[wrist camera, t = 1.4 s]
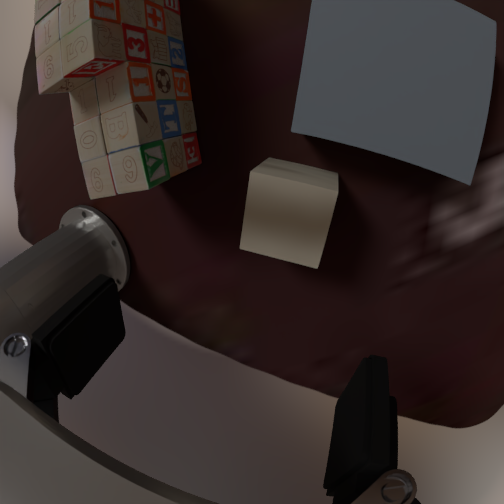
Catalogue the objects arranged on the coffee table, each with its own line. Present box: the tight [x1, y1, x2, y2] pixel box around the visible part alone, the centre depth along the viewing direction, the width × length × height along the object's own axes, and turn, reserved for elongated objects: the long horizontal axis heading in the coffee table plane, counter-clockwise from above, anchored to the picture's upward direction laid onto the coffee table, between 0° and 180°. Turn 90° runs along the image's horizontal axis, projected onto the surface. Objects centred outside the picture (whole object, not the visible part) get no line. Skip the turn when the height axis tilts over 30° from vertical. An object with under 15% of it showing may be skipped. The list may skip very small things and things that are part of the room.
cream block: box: [240, 158, 338, 269], centre depth 23 cm, size 6×6×6 cm
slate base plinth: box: [291, 0, 496, 185], centre depth 17 cm, size 14×14×4 cm
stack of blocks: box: [34, 0, 202, 199], centre depth 18 cm, size 21×6×12 cm, turn 8°
